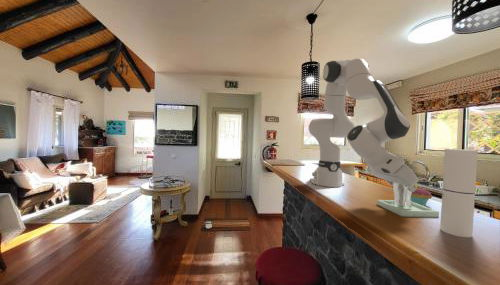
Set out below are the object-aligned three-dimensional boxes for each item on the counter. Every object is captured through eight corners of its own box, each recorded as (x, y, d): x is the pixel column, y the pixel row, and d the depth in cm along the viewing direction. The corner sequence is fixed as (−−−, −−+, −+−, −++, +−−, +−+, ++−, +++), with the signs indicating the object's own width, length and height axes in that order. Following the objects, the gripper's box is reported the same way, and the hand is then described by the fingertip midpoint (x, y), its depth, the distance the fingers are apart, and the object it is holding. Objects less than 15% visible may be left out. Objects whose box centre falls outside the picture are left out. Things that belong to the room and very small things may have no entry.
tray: (377, 204, 94) (377, 199, 94) (408, 205, 95) (409, 200, 95) (401, 216, 80) (402, 210, 80) (438, 217, 81) (438, 211, 81)
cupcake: (412, 206, 94) (414, 177, 93) (402, 200, 102) (404, 174, 102) (435, 208, 92) (437, 179, 92) (423, 202, 100) (425, 175, 100)
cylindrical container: (451, 236, 64) (456, 149, 64) (434, 226, 71) (439, 148, 71) (479, 238, 63) (485, 150, 63) (459, 228, 70) (464, 149, 70)
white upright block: (406, 203, 92) (407, 167, 90) (417, 210, 85) (418, 171, 83) (388, 203, 92) (389, 167, 91) (397, 209, 85) (398, 171, 84)
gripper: (359, 164, 96) (380, 187, 97) (393, 171, 76) (418, 200, 77) (370, 154, 96) (390, 177, 97) (406, 158, 76) (431, 188, 77)
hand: (403, 187), depth 87 cm, fingers open, 8 cm apart
